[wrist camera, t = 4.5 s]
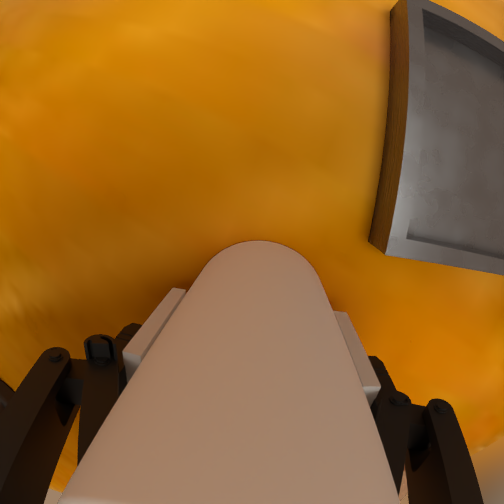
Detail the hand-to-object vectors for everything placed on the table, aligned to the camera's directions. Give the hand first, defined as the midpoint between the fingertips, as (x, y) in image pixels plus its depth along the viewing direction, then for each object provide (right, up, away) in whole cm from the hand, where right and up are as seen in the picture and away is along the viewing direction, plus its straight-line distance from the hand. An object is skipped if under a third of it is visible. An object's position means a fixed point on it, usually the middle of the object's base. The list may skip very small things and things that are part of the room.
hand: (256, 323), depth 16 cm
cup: (0, +1, +3) cm, 3 cm away
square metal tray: (+16, +11, -1) cm, 19 cm away
